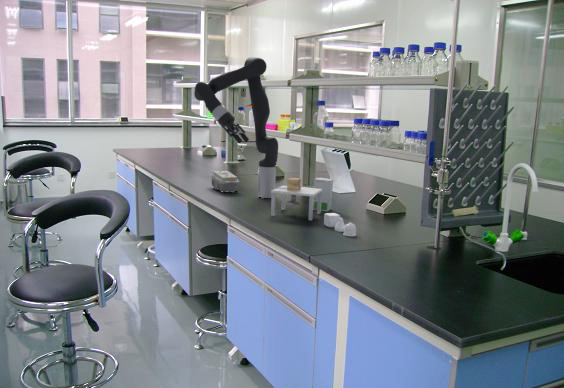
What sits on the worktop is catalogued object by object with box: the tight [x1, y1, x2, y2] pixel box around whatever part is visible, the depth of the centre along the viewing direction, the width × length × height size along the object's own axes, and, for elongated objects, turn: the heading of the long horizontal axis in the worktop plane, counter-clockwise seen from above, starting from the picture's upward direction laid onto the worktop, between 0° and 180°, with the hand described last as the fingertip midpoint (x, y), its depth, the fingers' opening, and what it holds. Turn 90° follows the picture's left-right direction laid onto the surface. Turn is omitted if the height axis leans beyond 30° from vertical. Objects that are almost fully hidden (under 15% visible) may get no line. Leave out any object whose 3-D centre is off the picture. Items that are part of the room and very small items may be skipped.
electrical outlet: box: [210, 170, 241, 192], centre depth 296 cm, size 12×28×10 cm, turn 25°
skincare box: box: [313, 177, 334, 213], centre depth 251 cm, size 8×7×16 cm
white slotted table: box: [270, 185, 322, 221], centre depth 238 cm, size 16×20×12 cm
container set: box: [323, 212, 357, 237], centre depth 213 cm, size 20×5×6 cm, turn 24°
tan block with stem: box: [286, 177, 302, 206], centre depth 238 cm, size 6×6×12 cm
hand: (244, 141), depth 245 cm, fingers open, 8 cm apart
